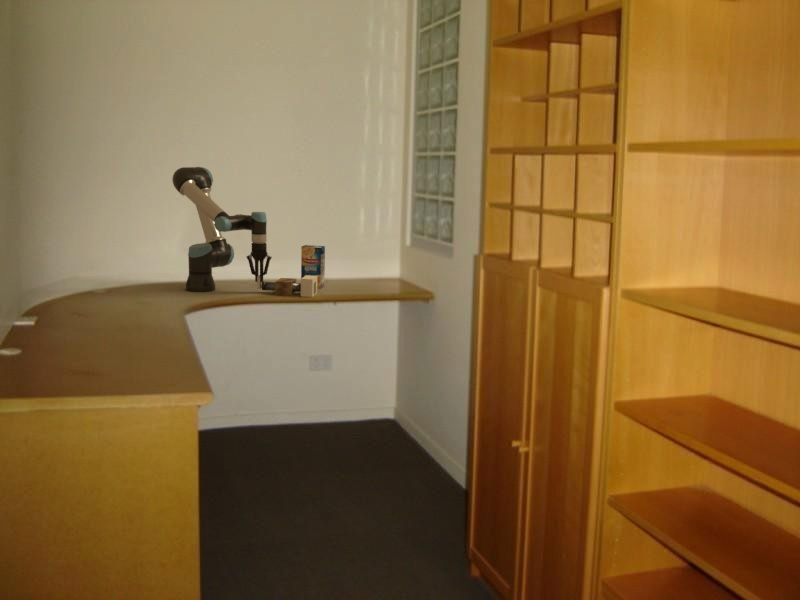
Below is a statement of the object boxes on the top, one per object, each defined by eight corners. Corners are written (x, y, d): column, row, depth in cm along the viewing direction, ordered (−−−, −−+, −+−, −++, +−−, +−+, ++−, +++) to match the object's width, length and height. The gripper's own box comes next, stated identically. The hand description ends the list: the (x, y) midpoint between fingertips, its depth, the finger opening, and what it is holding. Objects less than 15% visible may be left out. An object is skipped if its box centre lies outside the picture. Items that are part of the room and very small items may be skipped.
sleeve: (275, 295, 461) (275, 281, 460) (281, 291, 473) (281, 278, 472) (290, 295, 461) (291, 282, 459) (296, 292, 472) (296, 278, 471)
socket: (300, 296, 460) (300, 278, 458) (305, 292, 472) (305, 275, 470) (312, 297, 459) (312, 279, 458) (317, 293, 471) (317, 275, 470)
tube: (261, 290, 466) (261, 282, 465) (263, 289, 470) (263, 280, 469) (304, 292, 463) (304, 284, 463) (305, 291, 468) (305, 282, 467)
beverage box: (320, 288, 485) (321, 247, 481) (300, 287, 487) (301, 246, 483) (324, 286, 491) (325, 246, 488) (305, 285, 494) (305, 245, 490)
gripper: (244, 242, 461) (244, 288, 465) (269, 243, 459) (269, 289, 463) (248, 241, 468) (249, 286, 472) (273, 242, 467) (273, 287, 471)
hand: (259, 288), depth 468 cm, fingers closed
